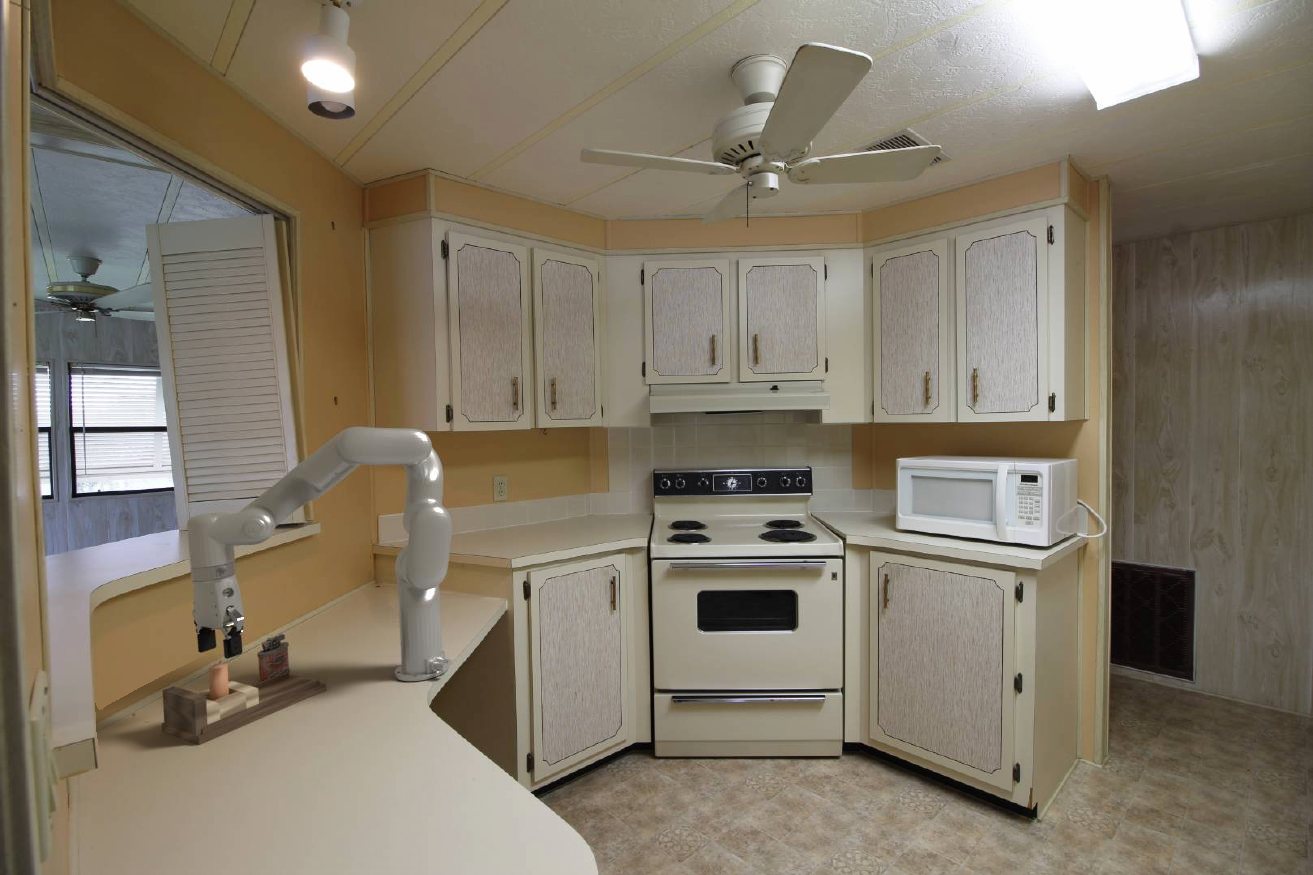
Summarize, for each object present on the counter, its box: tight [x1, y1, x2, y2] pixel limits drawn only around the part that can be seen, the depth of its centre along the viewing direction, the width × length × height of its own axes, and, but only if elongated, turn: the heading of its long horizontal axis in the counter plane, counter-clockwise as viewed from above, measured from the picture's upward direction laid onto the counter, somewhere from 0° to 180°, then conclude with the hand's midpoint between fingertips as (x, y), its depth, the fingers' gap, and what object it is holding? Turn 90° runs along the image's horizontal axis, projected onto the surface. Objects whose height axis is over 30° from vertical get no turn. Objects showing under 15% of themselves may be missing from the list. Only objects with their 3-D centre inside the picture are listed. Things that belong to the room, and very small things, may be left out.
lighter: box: [256, 633, 291, 683], centre depth 147 cm, size 8×3×10 cm, turn 168°
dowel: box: [208, 663, 229, 701], centre depth 126 cm, size 3×3×10 cm
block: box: [196, 680, 259, 725], centre depth 126 cm, size 10×10×4 cm
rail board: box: [161, 672, 327, 746], centre depth 131 cm, size 14×26×8 cm, turn 153°
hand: (220, 653), depth 126 cm, fingers open, 9 cm apart
